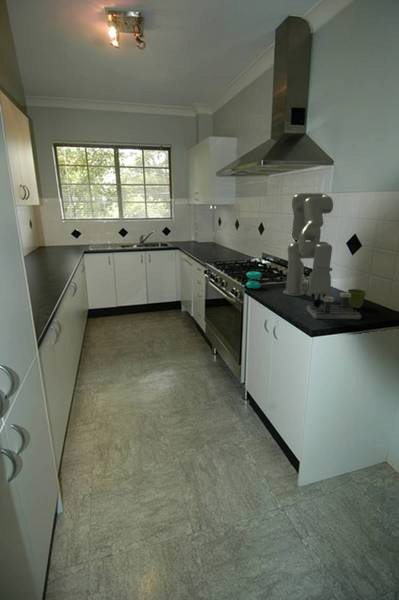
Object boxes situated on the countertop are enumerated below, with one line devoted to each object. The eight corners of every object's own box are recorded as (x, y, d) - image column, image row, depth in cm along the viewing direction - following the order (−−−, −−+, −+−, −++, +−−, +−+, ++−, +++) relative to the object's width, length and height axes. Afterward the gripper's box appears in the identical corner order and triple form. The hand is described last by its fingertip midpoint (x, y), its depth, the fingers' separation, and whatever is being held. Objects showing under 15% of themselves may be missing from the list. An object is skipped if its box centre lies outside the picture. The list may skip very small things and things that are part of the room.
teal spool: (254, 270, 215) (264, 273, 207) (253, 284, 218) (264, 287, 210) (243, 272, 210) (253, 274, 202) (242, 286, 213) (252, 289, 205)
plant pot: (368, 308, 169) (371, 292, 166) (354, 310, 166) (356, 294, 164) (355, 303, 178) (358, 288, 175) (341, 304, 175) (343, 289, 172)
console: (306, 309, 167) (307, 304, 166) (348, 310, 166) (349, 304, 166) (315, 318, 154) (315, 313, 153) (360, 319, 153) (361, 313, 152)
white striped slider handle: (338, 306, 165) (340, 292, 162) (346, 306, 164) (348, 292, 162) (340, 308, 161) (342, 294, 159) (349, 308, 161) (351, 294, 159)
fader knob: (320, 311, 157) (322, 296, 155) (329, 311, 157) (331, 296, 155) (323, 313, 154) (324, 298, 152) (332, 313, 154) (334, 298, 152)
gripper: (333, 268, 153) (329, 304, 158) (302, 268, 153) (299, 304, 159) (339, 272, 146) (334, 309, 151) (307, 271, 146) (303, 309, 152)
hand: (316, 306), depth 155 cm, fingers closed
